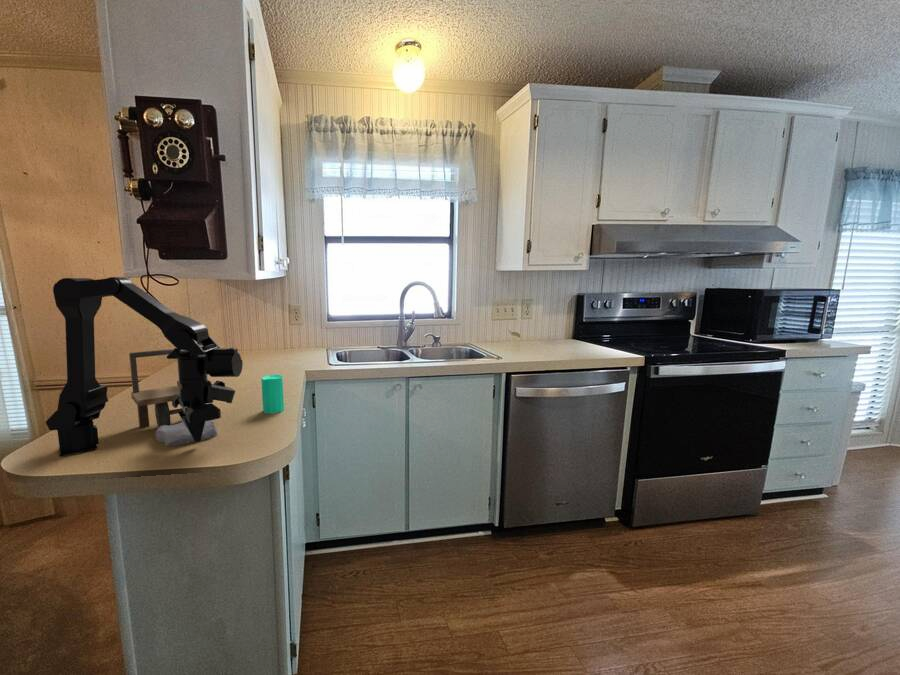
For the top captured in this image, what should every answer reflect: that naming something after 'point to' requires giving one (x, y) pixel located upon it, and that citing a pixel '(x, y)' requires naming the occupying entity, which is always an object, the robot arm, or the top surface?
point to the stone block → (182, 433)
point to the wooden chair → (152, 394)
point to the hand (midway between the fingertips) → (197, 441)
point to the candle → (272, 393)
